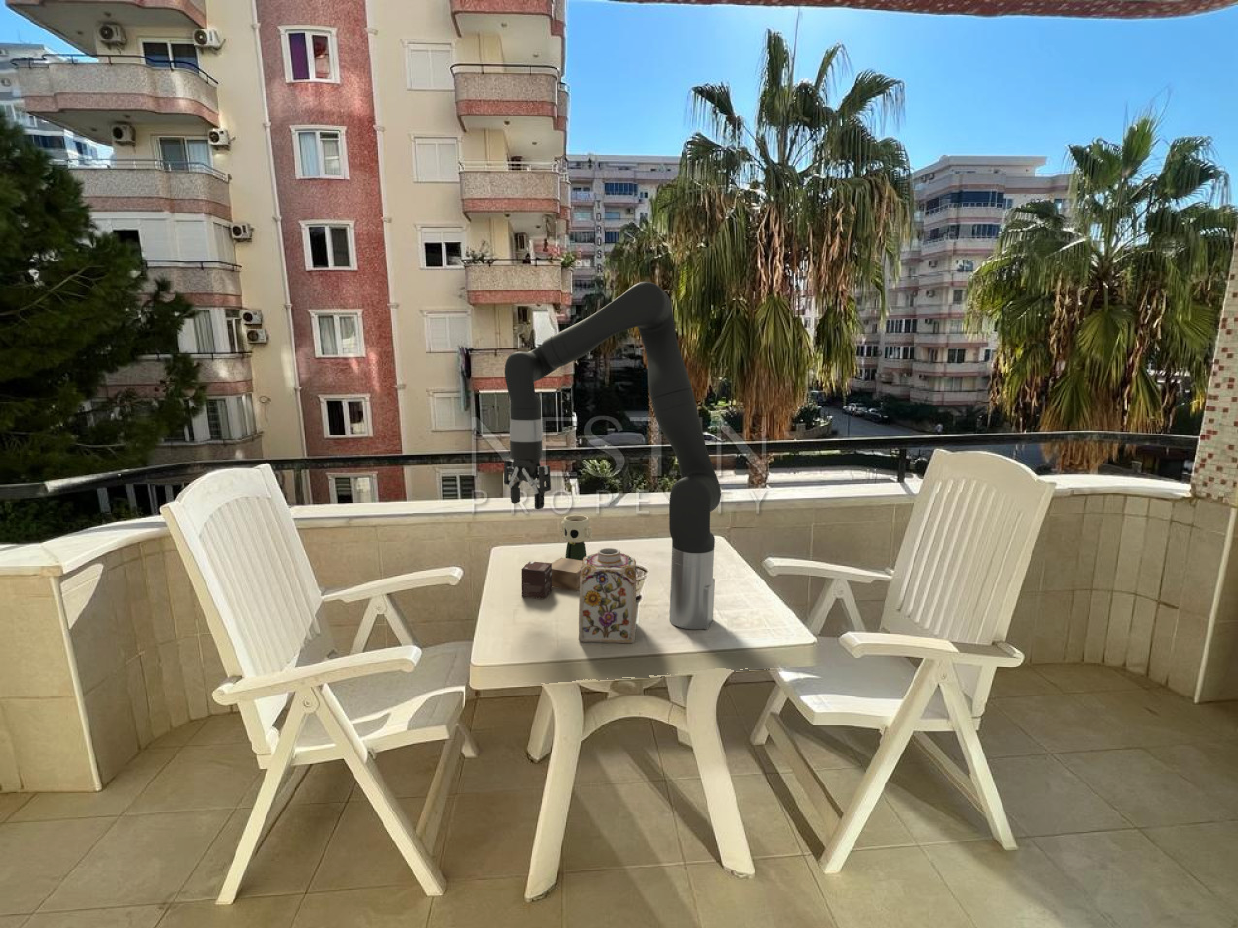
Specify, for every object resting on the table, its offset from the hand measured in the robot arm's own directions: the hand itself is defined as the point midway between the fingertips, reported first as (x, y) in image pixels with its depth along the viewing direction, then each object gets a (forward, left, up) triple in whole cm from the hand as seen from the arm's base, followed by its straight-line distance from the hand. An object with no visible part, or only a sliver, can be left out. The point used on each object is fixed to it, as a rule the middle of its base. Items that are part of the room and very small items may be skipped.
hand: (527, 505), depth 142 cm
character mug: (0, -27, -23) cm, 35 cm away
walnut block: (-5, -12, -23) cm, 26 cm away
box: (-2, -2, -23) cm, 23 cm away
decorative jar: (-25, +10, -23) cm, 36 cm away
